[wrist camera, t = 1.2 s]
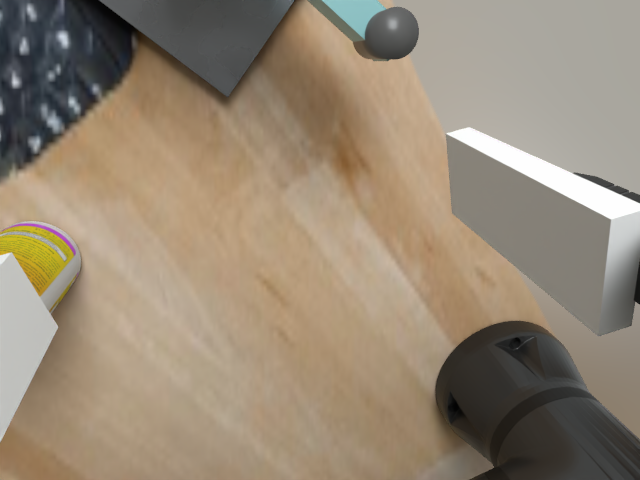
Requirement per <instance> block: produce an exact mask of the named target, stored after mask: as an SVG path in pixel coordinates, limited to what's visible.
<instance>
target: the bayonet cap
mask: <svg viewBox="0 0 640 480" xmlns="http://www.w3.org/2000/svg"><path fill="white" fill-rule="evenodd" d="M307 1H308V2H310V3H311V4H312V5H313V6H314V7H315V8H316V9H317V10H318V11H319V12H321V13H322V14H323V15H324V16H325V17H326V18H327V19H328V20H329V21H330V22H332V23H333V24H334V25H335V26H336V27H337V28H338V29H339V30H340V31H341V32H343V33H344V34H345V35H346V36H347V37H348V38H349V39H350V40H351V41H353V44H354V47H355V49H356V51H357V52H358V53H359V54H360V55H361V56H362V57H364V58H366V59H372V60H373V61H389V59H400V58H403V57H405V56H406V55H408V54H409V53H410V52H411V51H412V50H413V49H414V47H415V45H416V43H417V40H418V35H419V28H418V23H417V21H416V18H415V17H414V15H413V14H412V13H411V12H410V11H408V10H406V9H405V8H402V7H392V8H389V9H386V8H385V7H384V6H383V5H382V4H381V3H379V2H378V1H377V0H307Z"/></svg>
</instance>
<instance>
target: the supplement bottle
mask: <svg viewBox="0 0 640 480" xmlns="http://www.w3.org/2000/svg"><path fill="white" fill-rule="evenodd" d="M11 252H12V253H13V255H14V257H15V258H16V260H17V261H18V263H19V265H20V266H21V268H22V269H23V271H24V273H25V274H26V276H27V277H28V279H29V281H30V282H31V284H32V285H33V287H34V289H35V290H36V292H37V294H38V295H39V297H40V298H41V300H42V302H43V303H44V305H45V306H46V308H47V310H48V311H49V313H50V314H51V313H52V312H53V311H54V309H55V308H56V307H57V305H58V304H59V302H60V301H61V300H62V298H63V297H64V296H65V294H66V293H67V292H68V290H69V289H70V287H71V286H72V285H73V283H74V282H75V280H76V278H77V277H78V275H79V272H80V268H81V256H80V252H79V250H78V247H77V245H76V244H75V242H74V241H73V240H72V238H71V237H70V236H69V235H68V234H66V233H65V232H64V231H62V230H61V229H59V228H57V227H55V226H53V225H50V224H48V223H44V222H38V221H26V222H20V223H16V224H13V225H11V226H9V227H7V228H6V229H4V230H3V231H1V232H0V255H4V254H7V253H11Z"/></svg>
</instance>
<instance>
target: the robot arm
mask: <svg viewBox="0 0 640 480" xmlns="http://www.w3.org/2000/svg"><path fill="white" fill-rule="evenodd" d="M446 141H447V154H448V167H449V180H450V193H451V206H452V214H454V215H455V216H456V217H457V218H458V219H460V220H461V221H462V222H463V223H464V224H465V225H467V226H468V227H469V228H470V229H471V230H473V231H474V232H475V233H476V234H477V235H478V236H480V237H481V238H482V239H483V240H484V241H486V242H487V243H488V244H489V245H490V246H492V247H493V248H494V249H495V250H496V251H497V252H499V253H500V254H501V255H502V256H503V257H505V258H506V259H507V260H508V261H509V262H510V263H512V264H513V265H514V266H515V267H516V268H518V269H519V270H520V271H521V272H522V273H524V274H525V275H526V276H527V277H528V278H529V279H531V280H532V281H533V282H534V283H535V284H537V285H538V286H539V287H540V288H541V289H543V290H544V291H545V292H546V293H547V294H548V295H550V296H551V297H552V298H553V299H554V300H556V301H557V302H558V303H559V304H560V305H562V306H563V307H564V308H565V309H566V310H568V311H569V312H570V313H571V314H572V315H573V316H575V317H576V318H577V319H578V320H579V321H581V322H582V323H583V324H584V325H585V326H586V327H588V328H589V329H590V330H591V331H592V332H593V333H595V334H596V335H597V336H601V335H604V334H607V333H610V332H613V331H616V330H620V329H623V328H626V327H629V326H631V325H632V319H633V312H634V306H635V302H637V303H638V304H640V195H638V194H635V193H633V192H630V193H629V191H628V190H626V189H624V188H621V187H619V186H614V184H612V183H610V182H608V181H605V180H603V179H601V178H598V177H595V176H590V175H584V174H579V173H570V172H568V171H566V170H564V169H561V168H559V167H557V166H555V165H553V164H550V163H548V162H546V161H544V160H541V159H539V158H537V157H535V156H532V155H530V154H527V153H525V152H523V151H521V150H519V149H517V148H515V147H512V146H510V145H508V144H505V143H503V142H501V141H499V140H496V139H494V138H492V137H490V136H487V135H485V134H483V133H481V132H479V131H476V130H474V129H472V128H469V127H468V128H465V129H461V130H457V131H454V132H450V133H447V134H446ZM57 329H58V326H57V324H56V322H55V321H54V319H53V318H52V316H51V314H50V313H49V311H48V310H47V308H46V306H45V305H44V303H43V302H42V300H41V298H40V297H39V295H38V294H37V292H36V290H35V289H34V287H33V285H32V284H31V282H30V281H29V279H28V277H27V276H26V274H25V273H24V271H23V269H22V268H21V266H20V265H19V263H18V261H17V260H16V258H15V257H14V255H13V253H12V252H11V253H7V254H4V255H0V442H1V440H2V438H3V436H4V434H5V432H6V430H7V428H8V426H9V424H10V422H11V420H12V418H13V416H14V414H15V412H16V410H17V408H18V406H19V404H20V402H21V400H22V398H23V396H24V394H25V392H26V390H27V388H28V386H29V384H30V382H31V380H32V378H33V376H34V374H35V372H36V370H37V368H38V366H39V364H40V363H41V361H42V359H43V357H44V355H45V353H46V351H47V349H48V347H49V345H50V343H51V341H52V339H53V337H54V335H55V333H56V331H57ZM436 399H437V403H438V406H439V408H440V410H441V412H442V414H443V416H444V417H445V419H446V421H447V423H448V424H449V426H450V427H451V428H452V429H453V431H454V432H455V433H456V434H457V435H458V436H460V437H461V438H462V439H463V440H465V441H466V442H467V443H468V444H469V445H471V446H472V447H473V448H474V449H476V450H477V451H478V452H479V453H480V454H482V455H483V456H484V457H485V458H487V459H488V460H489V461H490V462H491V463H492V464H493V466H494V467H495V468H493V469H491V470H489V471H487V472H485V473H482V474H480V475H478V476H476V477H474V478H472V479H470V480H640V439H639V438H638V437H637V436H635V435H634V434H633V433H632V432H631V431H630V430H629V429H628V428H627V427H626V426H625V425H624V424H622V423H621V422H620V421H619V420H618V419H617V418H616V417H615V416H614V415H613V414H612V413H611V412H609V410H607V409H606V408H605V407H604V406H603V405H602V404H601V403H600V402H599V401H598V400H597V399H596V398H594V397H593V396H592V395H591V394H590V392H589V391H588V389H587V387H586V385H585V383H584V381H583V379H582V377H581V375H580V373H579V371H578V369H577V367H576V366H575V364H574V362H573V360H572V358H571V356H570V354H569V353H568V351H567V349H566V348H565V347H564V346H563V344H562V343H561V342H560V341H559V340H557V339H556V338H555V337H554V336H553V335H552V334H551V333H549V332H548V331H547V330H546V329H544V328H543V327H541V326H539V325H536V324H533V323H530V322H524V321H509V322H502V323H498V324H494V325H491V326H489V327H486V328H484V329H482V330H480V331H478V332H476V333H474V334H473V335H471V336H470V337H468V338H467V339H466V340H464V341H463V342H462V343H461V344H460V345H459V346H458V347H457V348H456V349H455V350H454V351H453V352H452V353H451V354H450V356H449V357H448V359H447V360H446V361H445V363H444V365H443V367H442V369H441V371H440V374H439V377H438V380H437V385H436Z"/></svg>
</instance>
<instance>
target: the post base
mask: <svg viewBox="0 0 640 480" xmlns="http://www.w3.org/2000/svg"><path fill="white" fill-rule="evenodd" d="M99 1H101V2H102V3H103V4H105V5H106V6H107V7H109V8H110V9H111V10H113V11H114V12H115V13H117V14H118V15H119V16H121V17H122V18H123V19H125V20H126V21H127V22H129V23H130V24H131V25H133V26H134V27H135V28H136V29H138V30H139V31H140V32H142V33H143V34H144V35H146V36H147V37H148V38H150V39H151V40H152V41H154V42H155V43H156V44H158V45H159V46H160V47H162V48H163V49H164V50H166V51H167V52H168V53H170V54H171V55H172V56H174V57H175V58H176V59H178V60H179V61H180V62H182V63H183V64H184V65H186V66H187V67H188V68H190V69H191V70H192V71H194V72H195V73H196V74H198V75H199V76H200V77H202V78H203V79H204V80H205V81H207V82H208V83H209V84H211V85H212V86H213V87H215V88H216V89H217V90H219V91H220V92H221V93H223V94H224V95H225V96H227V97H228V96H229V95H230V93H231V92H232V90H233V89H234V88H235V86H236V85H237V83H238V82H239V80H240V79H241V77H242V76H243V74H244V73H245V72H246V70H247V69H248V67H249V66H250V64H251V63H252V61H253V60H254V58H255V57H256V56H257V54H258V53H259V51H260V50H261V48H262V47H263V45H264V44H265V43H266V41H267V40H268V38H269V37H270V35H271V34H272V32H273V31H274V29H275V28H276V27H277V25H278V24H279V22H280V21H281V19H282V18H283V16H284V15H285V13H286V12H287V11H288V9H289V8H290V6H291V5H292V3H293V2H294V0H99Z"/></svg>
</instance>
